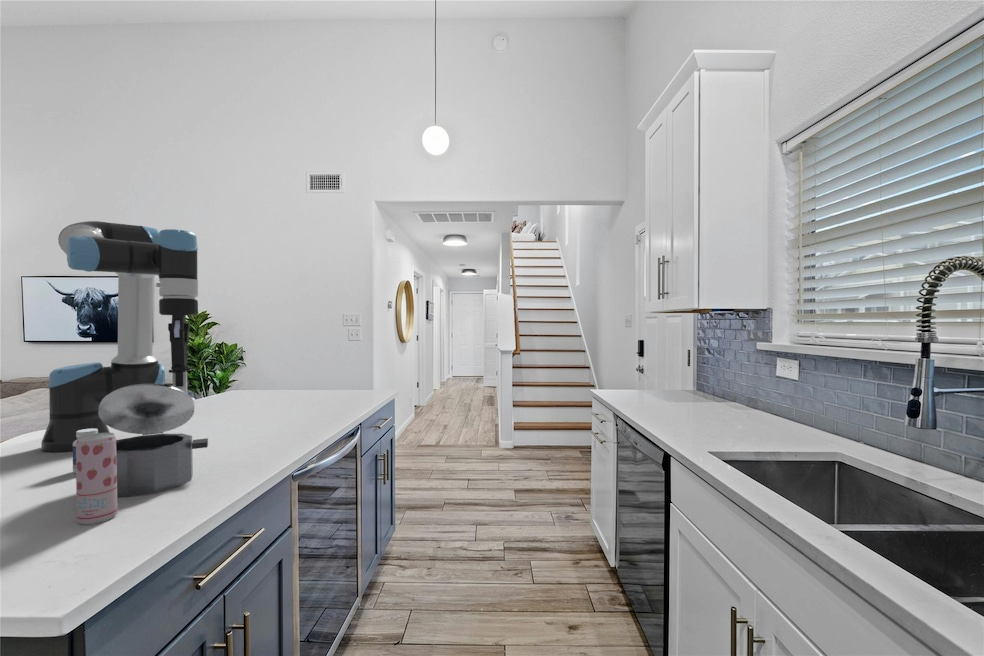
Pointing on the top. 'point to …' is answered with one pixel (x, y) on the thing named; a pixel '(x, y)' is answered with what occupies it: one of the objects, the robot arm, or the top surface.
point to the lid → (146, 408)
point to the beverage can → (96, 478)
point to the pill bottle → (78, 434)
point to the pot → (154, 463)
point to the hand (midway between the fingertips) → (180, 400)
